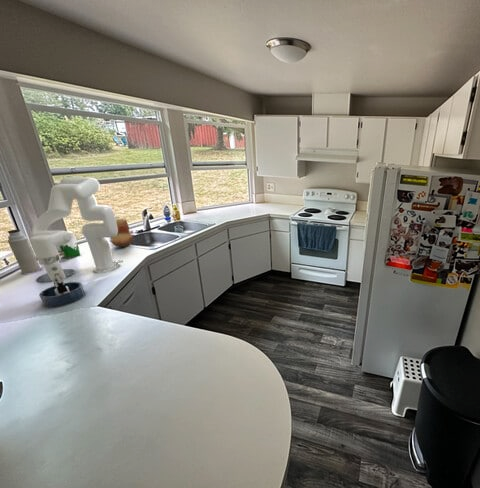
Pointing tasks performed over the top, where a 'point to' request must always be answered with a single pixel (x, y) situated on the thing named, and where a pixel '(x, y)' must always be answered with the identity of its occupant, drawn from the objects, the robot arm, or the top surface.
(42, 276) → the lid
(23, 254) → the thermos bottle
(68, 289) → the pepper shaker
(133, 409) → the top surface
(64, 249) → the milk carton
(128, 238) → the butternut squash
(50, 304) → the pot
